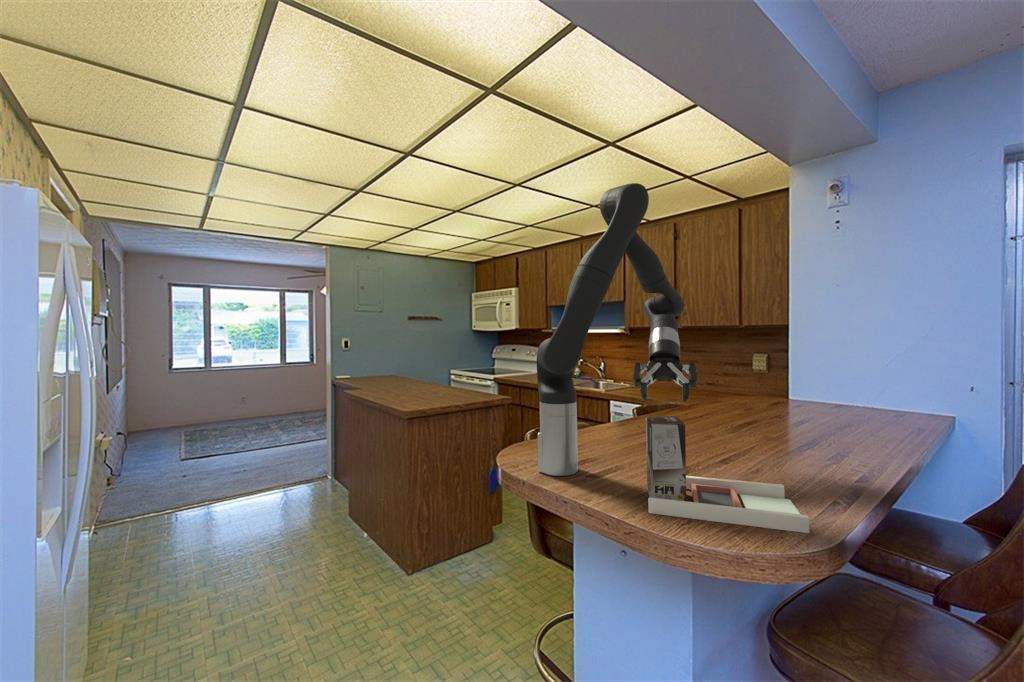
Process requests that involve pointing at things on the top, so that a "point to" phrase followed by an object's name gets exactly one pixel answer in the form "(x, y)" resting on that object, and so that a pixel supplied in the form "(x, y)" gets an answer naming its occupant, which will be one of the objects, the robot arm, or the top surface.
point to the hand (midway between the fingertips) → (664, 398)
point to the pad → (768, 504)
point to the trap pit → (715, 495)
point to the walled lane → (733, 513)
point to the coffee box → (666, 457)
